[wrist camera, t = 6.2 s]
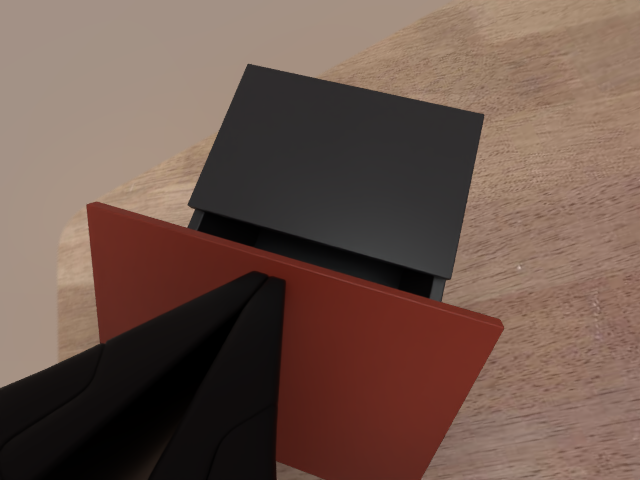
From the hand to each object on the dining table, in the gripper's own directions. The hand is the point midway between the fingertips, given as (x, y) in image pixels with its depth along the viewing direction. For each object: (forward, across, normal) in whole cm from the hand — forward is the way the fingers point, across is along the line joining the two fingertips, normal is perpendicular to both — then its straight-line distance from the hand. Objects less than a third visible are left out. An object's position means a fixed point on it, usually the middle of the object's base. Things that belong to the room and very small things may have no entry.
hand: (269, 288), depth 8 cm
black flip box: (+11, 0, +8) cm, 14 cm away
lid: (0, 0, +3) cm, 3 cm away
